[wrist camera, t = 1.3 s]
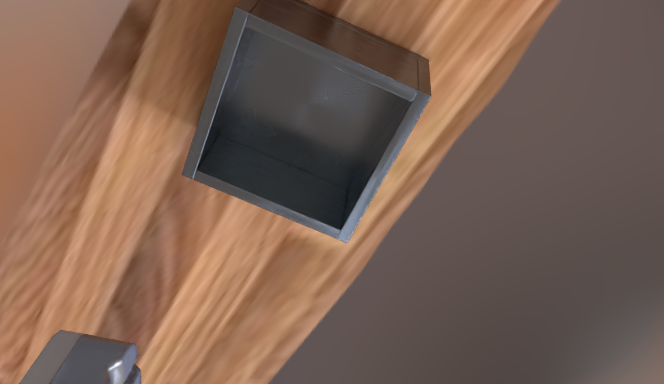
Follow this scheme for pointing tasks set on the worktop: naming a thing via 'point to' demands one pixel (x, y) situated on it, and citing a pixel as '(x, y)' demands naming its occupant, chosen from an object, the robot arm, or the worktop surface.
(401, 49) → the dark gray square tray
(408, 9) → the worktop surface
